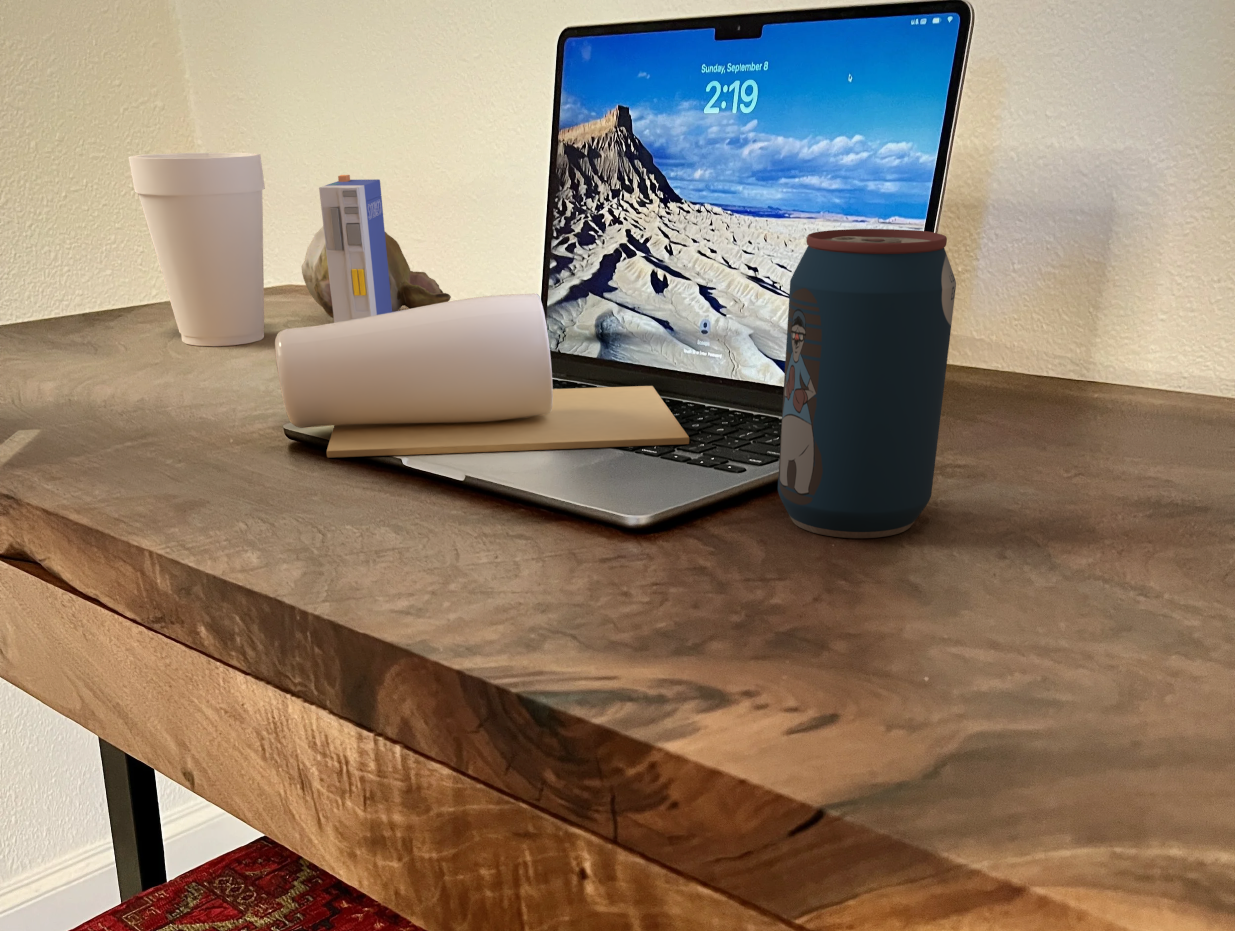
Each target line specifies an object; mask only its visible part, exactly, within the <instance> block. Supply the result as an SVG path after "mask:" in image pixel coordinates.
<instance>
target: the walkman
mask: <svg viewBox="0 0 1235 931" xmlns="http://www.w3.org/2000/svg"><path fill="white" fill-rule="evenodd" d="M337 179H338V180H337V181H335V182H331V183H328V184H325V185H322V186H319V187H318V191H319V200H320V208H321V215H322V218H321V219H322V227H324V236H325V245H326V254H327V263H328V271H329V280H330V289H331V298H332V306H333V315H334V318H333V323H335V322H341V321H346V320H352V319H357V318H363V317H368V316H374V315H379V314H385V313H390V312H392V306H391V295H390V284H389V273H388V262H387V251H386V240H385V232H386V230H385V219H384V209H383V208H384V207H383V198H382V188H381V187H382V186H381V179H378V178H377V179H375V178H374V179H351V175H350V174H340V175H337Z"/></svg>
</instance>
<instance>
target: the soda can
mask: <svg viewBox="0 0 1235 931" xmlns="http://www.w3.org/2000/svg"><path fill="white" fill-rule="evenodd" d="M947 242H948V237H947V236H946V235H945V234H941V233H937V232H932V231H926V230H919V229H918V230H917V229H897V228H896V229H895V228H894V229H893V228H850V229H831V230H829V229H828V230H821V231H814V232H812V233H809V234H808V235H807V236H806V245H807V247H806V249H805V251H804V252H803V254H802V257H801V258H800V261H799V262H798V264H797V266H796V268H795V270H794V272H793V273H792V276H791V277H790V281H789V295H788V296H789V297H788V309H787V310H788V311H787V329H786V342H785V343H786V345H785V362H784V377H783V392H782V394H783V395H782V396H783V397H782V412H781V425H780V428H781V430H780V444H779V460H778V461H779V462H778V463H779V464H778V477H777V492H778V495H779V498H780V500H781V503H782V504H783V507H784V508H785V510H786V512H787V515H788V516H789V518H790V520H791V521H792V523H793V525H795V526H797V527H798V528H800V529H802V530H805V531H807V532H809V533H813V534H817V535H821V536H828V537H835V538H842V539H843V538H844V539H845V538H846V539H876V538H884V537H890V536H895V535H898V534H901V533H903V532H905V531H907V530H909V529H910V528H911V527H912V526H913V525H914V523H915V521H916V520H917V519H918V518H919V516H920V515H921V514H922V512H923V511H924V509H925V508H926V506H927V505H928V503H929V502H930V500H931V498H932V493H933V484H934V476H935V469H936V468H935V466H936V459H937V451H938V450H937V449H938V443H939V442H938V440H939V434H940V425H941V417H942V408H943V400H944V393H945V392H944V390H945V382H946V376H947V375H946V374H947V366H948V357H949V349H950V348H949V347H950V341H951V340H950V339H951V331H952V322H953V315H954V307H955V306H954V305H955V298H956V297H955V296H956V288H957V281H956V277H955V275H954V272H953V269H952V266H951V265H952V264H951V262H950V260H949V257H948V254H947V251H946V249H945V247H946V246H947Z"/></svg>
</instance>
